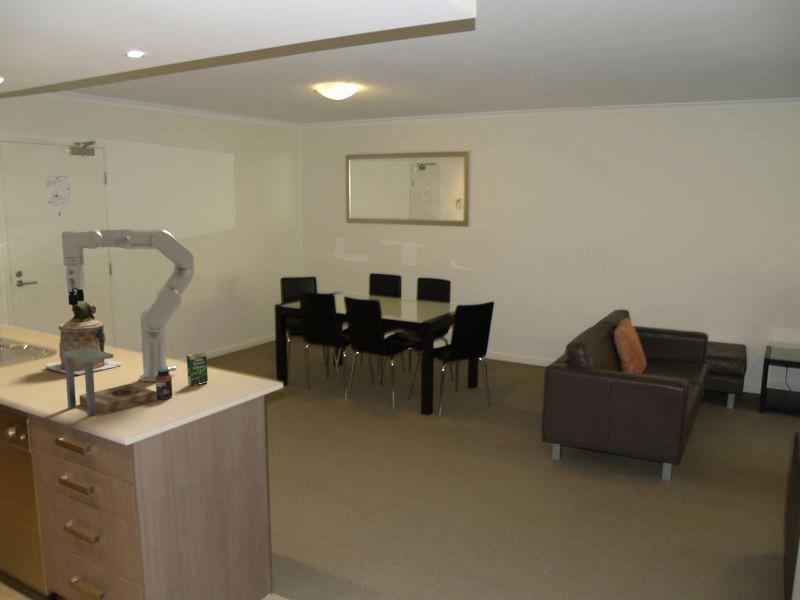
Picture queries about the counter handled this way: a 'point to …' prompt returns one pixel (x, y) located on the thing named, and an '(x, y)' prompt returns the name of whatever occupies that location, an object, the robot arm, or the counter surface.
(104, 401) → the socket block
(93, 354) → the small grey stool
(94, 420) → the counter surface
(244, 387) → the counter surface
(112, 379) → the counter surface
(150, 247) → the robot arm
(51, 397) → the counter surface
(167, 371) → the supplement bottle
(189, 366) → the coffee box
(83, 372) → the cookie jar
